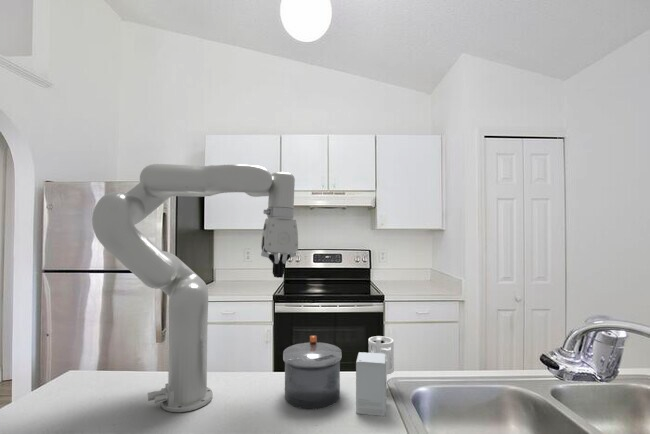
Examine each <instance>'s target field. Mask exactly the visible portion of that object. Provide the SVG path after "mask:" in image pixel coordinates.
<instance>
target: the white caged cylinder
mask: <svg viewBox="0 0 650 434" xmlns="http://www.w3.org/2000/svg"><path fill="white" fill-rule="evenodd" d="M382 341H384V342H385V343H382ZM394 349H395V348H394V339H393V338H392V337H388V336H382V335H376V336H371V337H369V338H368V353H382V354H386V392H387V391H388V384H387V381H388V379H387V378H388V375H391V374H392V373H393V374H394V370H395V367H394V366H395V365H394V364H395V363H394V362H395V361H394V360H395V357H394V353H395V352H394Z"/></svg>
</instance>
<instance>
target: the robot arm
mask: <svg viewBox="0 0 650 434" xmlns="http://www.w3.org/2000/svg"><path fill="white" fill-rule="evenodd" d="M295 181H296V179H295V176H294V174H292V173H291V172H286V171H285V172H284V171H277V172H272V173H271V172H270V171H269V170H268V169H267V168H265V167H264V166H260V165H253V164H251V165H250V164H218V165H217V164H216V165H215V164H212V165H211V164H209V165H194V164H193V165H191V164H190V165H189V164H187V165H186V164H168V163H167V164H166V163H154V164H149V165H146V166H145V167H144V168H143V169H142V170H141V171H140V175H139V182H138V183H137V184H136V185H135V186H134V187H132V188H131V189H130V190H128V191H127V192H124V191H112V192H108V193H107V194H104V195H103V196H102V197H101V198H99V200H98V201H97V202H96V204H95V206H94V208H93V211H92V218H91V224H92V230H93V233H94V235H95V237H96V239H97V240H98V242H99V243H100V244H101V245H102V246H103V247H104V249H105V250H106V251H108V252H109V254H111V255H112V256H113V257H114V258H115V259H116V260H117V261H119V262H120V263H121V264H122V265H123V266H124V267H125V268H126V269H128V270H129V271H130V272H131V273H132V274H133V275H134V276H136V278H138V279H139V280H140V282H142V283H143V284H144V285H146V287H148V288H150V289H154V290H155V289H156V290H159V289H160V290H161V291H162V292H163V293H164V294H165V295H167V296H168V297H169V298H168V372H167V374H168V376H167V378H168V379H167V383H165V386H164V388H163V387H162V388H161V389H160V390H154V391H150V392H147V402H149V401H150V402H151V401H154V403H156V404H157V403H159V402H160V404H161V405H160V406H161V408H162V409H163V410H164V411H166V412H170V413H184V412H185V413H186V412H191V411H194V410H198V409H200V408H202V407H204V406H206V405H207V404H209V402H211V401H212V399H213V390H212V389H211V388H210V387H207V385H208V383H207V381H208V317H209V315H208V314H209V313H208V312H209V311H208V310H209V290H208V286H207V284H206V282H205V281H204V280H203V279H202V278H201V277H200V276H199V275H198V274H197V273H196V272H195V271H193V270H192V269H191V268H190V267H189V265H187V264H186V263H184V261H183V260H181V259H180V258H179V257H177V255H175V254H173V253H172V252H169V251H164V250H161V248H160V247H158V246H157V245H156V244H155V243H153V242H152V240H150V239H149V238H148V237H147V236H146V235H145V234H143V232H141V231H140V230H139V229H138V228H137V227H136V225H137V224H139V223H140V222H141V221H143V220H145V219H146V218H147V217H148V216H149V215H151V214H152V213H153V212H155V210H157V209H158V208H160V207H161V206H162V205H163V204H164V203H165V202H167V200H168V199H170V198H171V197H200V198H202V197H212V196H216V195H219V194H226V193H227V194H228V193H230V194H231V193H244V194H246V195H247V196H250V197H254V198H259V197H260V198H261V197H268V203H267V204H268V205H267V209H263V214H264V215H266V216H267V218H265V220H264V224H263V228H262V236H261V243H260V244H261V245H260V247H261V253H260V256H261V257H263V258H268V260H269V261H271V263H272V275H273V277H274V278H277V279H278V278H283V277H284V274H285V264H286V263H287V262H288V260H289V259H291V258H295V257H297V252H298V250H299V233H298V232H299V231H298V224H297V220H296V219H294V213H295V212H294V211H295V209H294V208H295V205H294V203H295Z"/></svg>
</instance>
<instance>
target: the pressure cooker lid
mask: <svg viewBox="0 0 650 434" xmlns="http://www.w3.org/2000/svg"><path fill="white" fill-rule="evenodd" d="M317 338H318V337H317V335H313V334H312V335H309V342H300V343H296V344H293V345H290V346H288V347H286V348H285V349H284V350H283V352H282V360H283V362H284V364H285V363H287V364H289V365H291V366H294V367H299V368H322V367H327V366H331V365H334V364H336V363H338V362H339V361H340V362H341V360H342V354H343V353H342V349H341V348H340V347H338V346H337V345H335V344H330V343H326V342H318V340H317Z"/></svg>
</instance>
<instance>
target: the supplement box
mask: <svg viewBox="0 0 650 434" xmlns="http://www.w3.org/2000/svg"><path fill="white" fill-rule="evenodd" d="M355 361H356V362H355V376H356V377H355V379H356V380H355V400H356V401H355V413H356V414H360V415H369V416H378V417H379V416H380V417H386V416H387V415H386V412H387V411H386V408H387V406H386V405H387V391H386V354H382V353H369V352H364V351H363V352H360V351H359V352H358V354H357V357H356V360H355Z"/></svg>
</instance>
